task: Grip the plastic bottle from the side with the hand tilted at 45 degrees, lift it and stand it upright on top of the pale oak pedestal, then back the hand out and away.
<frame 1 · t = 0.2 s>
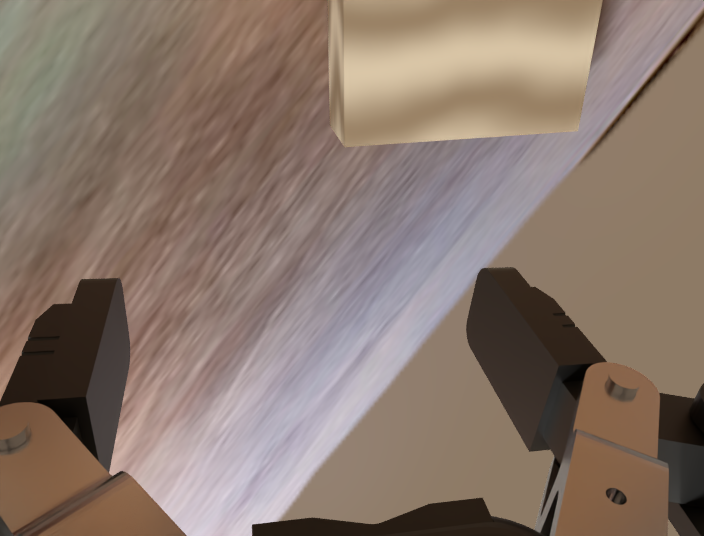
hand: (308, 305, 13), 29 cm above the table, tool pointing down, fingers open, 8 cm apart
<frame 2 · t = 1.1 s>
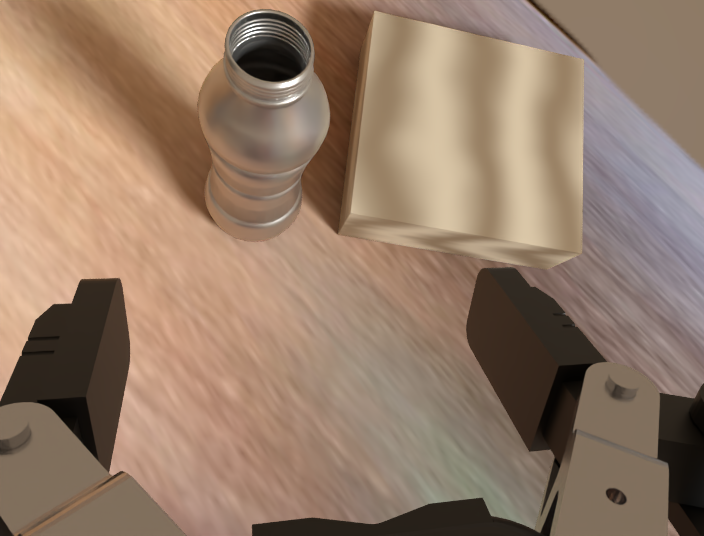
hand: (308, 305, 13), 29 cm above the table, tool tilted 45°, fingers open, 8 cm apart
oak pedestal: (452, 158, 48), on the table
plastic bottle: (252, 208, 44), on the table
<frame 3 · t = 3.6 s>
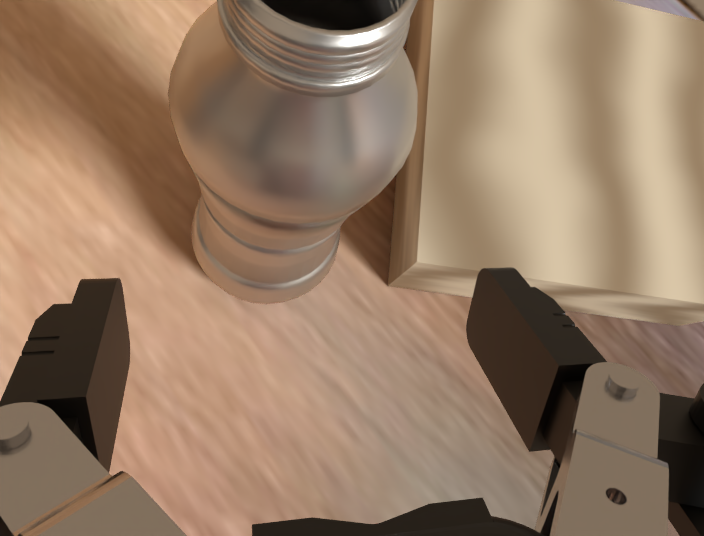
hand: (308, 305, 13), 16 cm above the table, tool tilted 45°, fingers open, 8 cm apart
oak pedestal: (541, 170, 34), on the table
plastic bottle: (263, 250, 30), on the table
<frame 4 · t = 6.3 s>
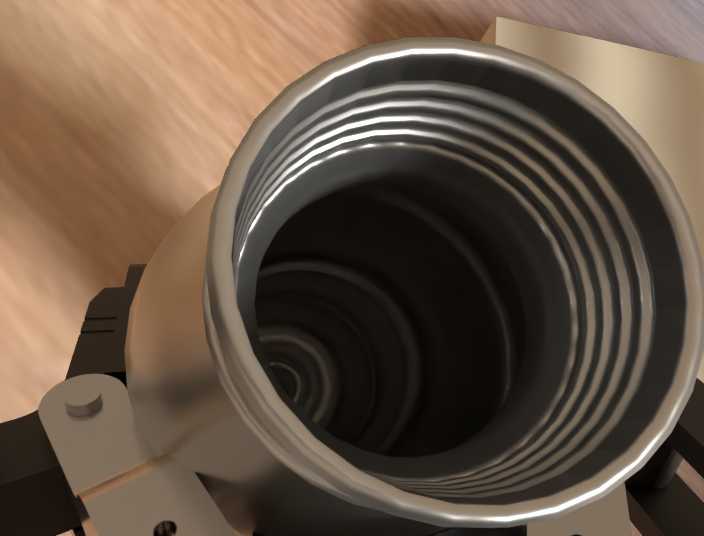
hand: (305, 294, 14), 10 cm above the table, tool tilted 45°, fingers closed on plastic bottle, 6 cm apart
oak pedestal: (615, 269, 27), on the table
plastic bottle: (275, 387, 23), on the table, touching gripper
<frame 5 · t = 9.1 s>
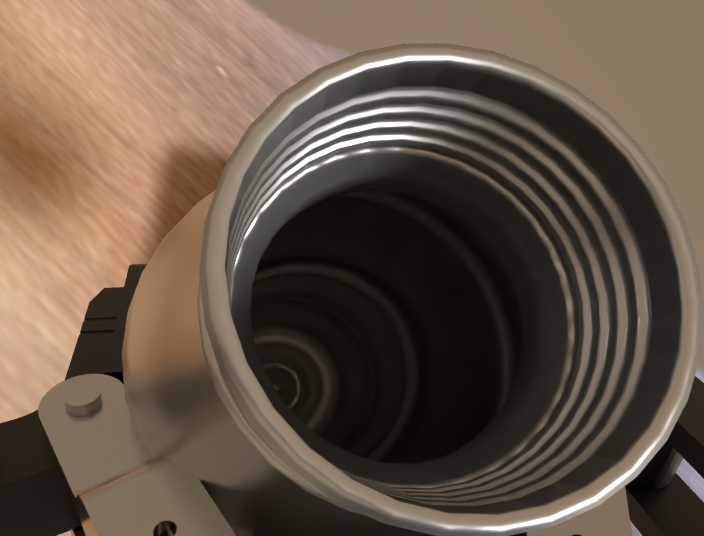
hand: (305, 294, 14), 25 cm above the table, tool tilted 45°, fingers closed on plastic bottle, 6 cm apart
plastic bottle: (275, 388, 23), point 14 cm above the table, touching gripper
when the fingers open (17 cm above the table, at t = 12.3 s): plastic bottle drops 1 cm, resting on oak pedestal.
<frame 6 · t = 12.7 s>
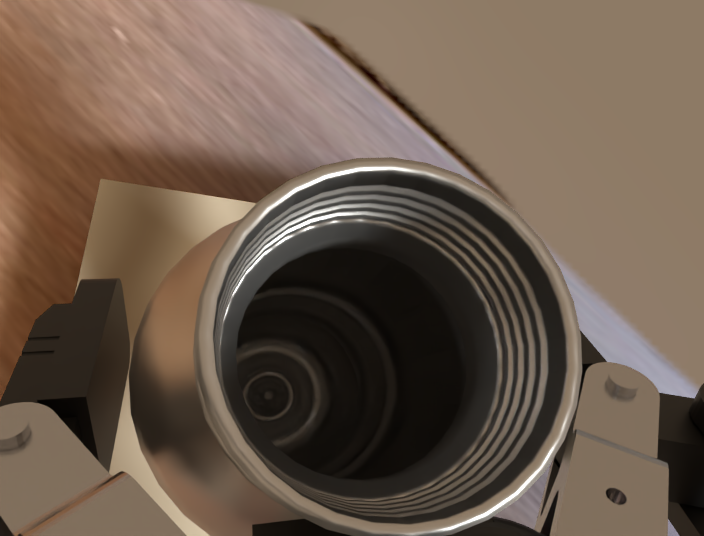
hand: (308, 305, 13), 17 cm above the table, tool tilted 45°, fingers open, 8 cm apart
oak pedestal: (267, 392, 29), on the table
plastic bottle: (268, 396, 25), point 5 cm above the table, touching oak pedestal
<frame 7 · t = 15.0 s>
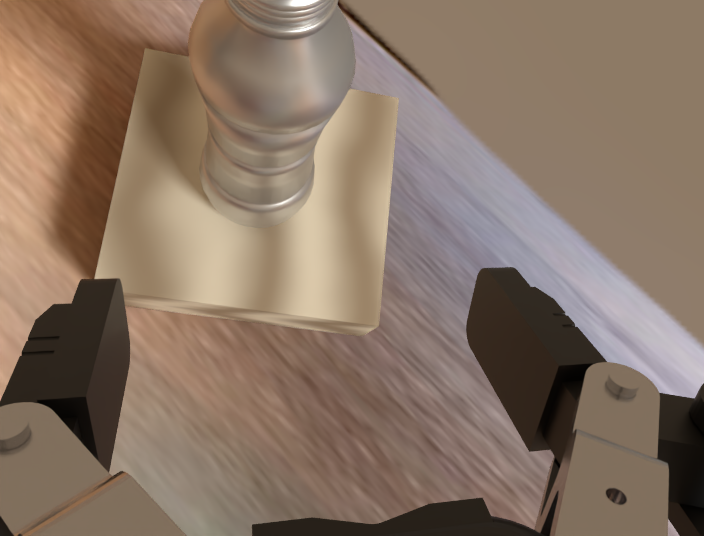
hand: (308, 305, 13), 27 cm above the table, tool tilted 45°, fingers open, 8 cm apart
oak pedestal: (256, 210, 42), on the table
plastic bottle: (256, 189, 37), point 5 cm above the table, touching oak pedestal
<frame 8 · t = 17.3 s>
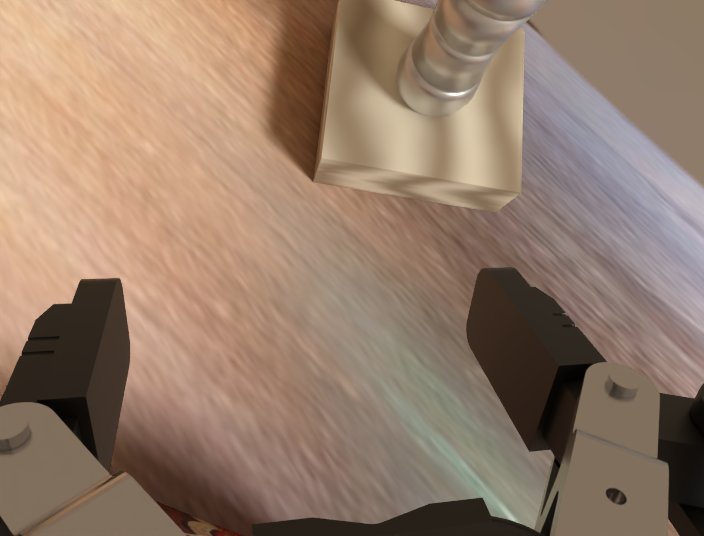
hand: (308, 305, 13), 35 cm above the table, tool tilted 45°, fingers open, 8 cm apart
oak pedestal: (412, 117, 55), on the table
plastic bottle: (427, 93, 50), point 5 cm above the table, touching oak pedestal
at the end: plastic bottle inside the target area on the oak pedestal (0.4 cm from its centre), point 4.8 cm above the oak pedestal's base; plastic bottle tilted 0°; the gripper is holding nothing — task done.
